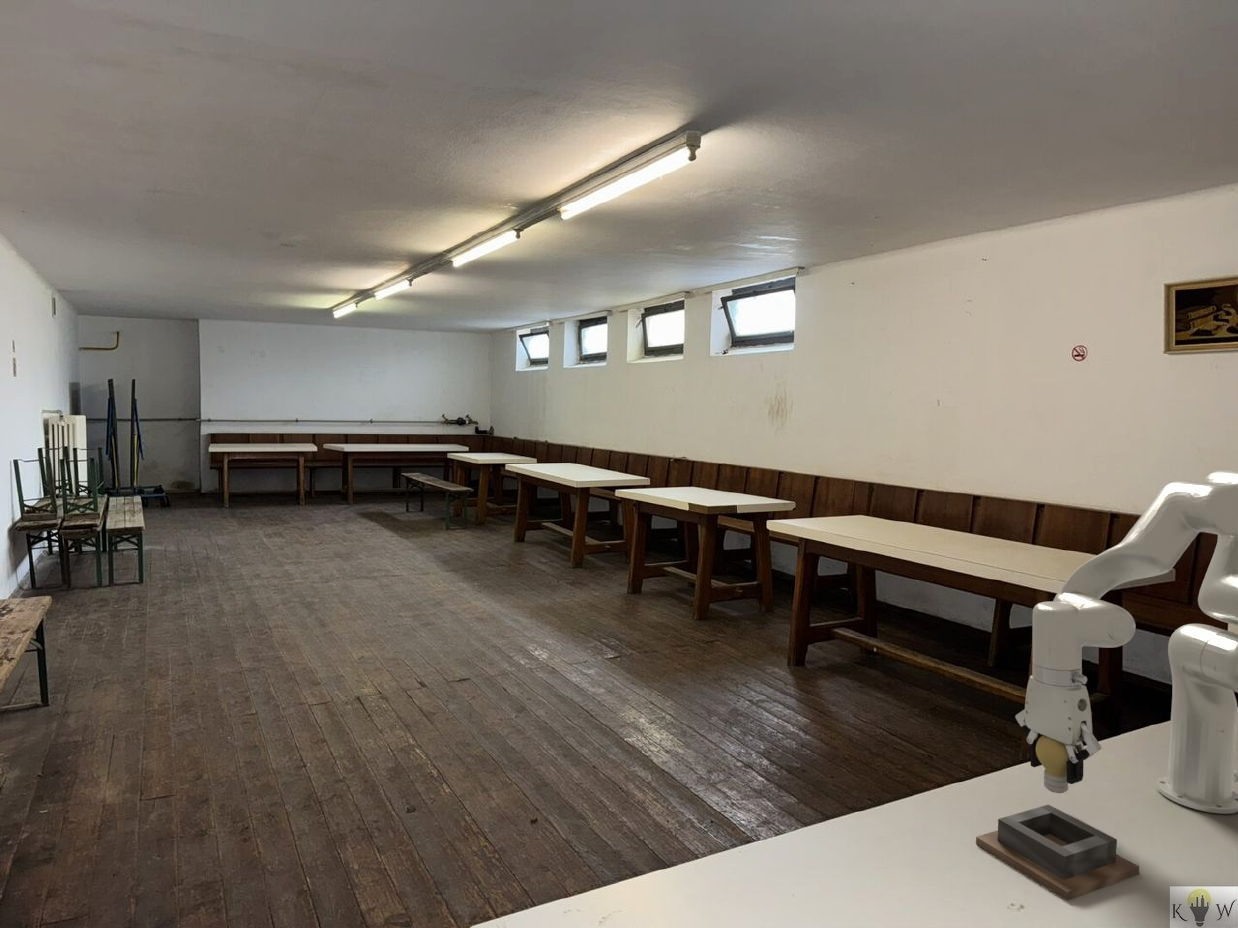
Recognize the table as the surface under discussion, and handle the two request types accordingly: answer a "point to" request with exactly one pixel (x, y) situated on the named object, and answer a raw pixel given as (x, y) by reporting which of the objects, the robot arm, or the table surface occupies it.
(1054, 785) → the light bulb
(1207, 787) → the robot arm
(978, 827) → the table surface
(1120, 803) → the table surface
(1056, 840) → the lamp socket
